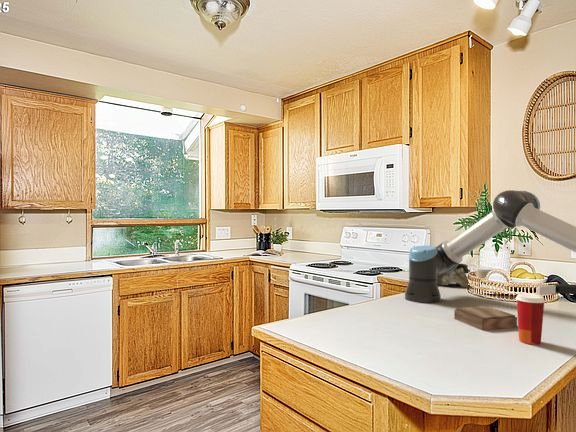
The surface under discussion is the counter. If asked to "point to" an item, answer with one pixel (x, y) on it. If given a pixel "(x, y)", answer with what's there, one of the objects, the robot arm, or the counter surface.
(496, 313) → the walnut plinth
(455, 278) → the hollow geode rock
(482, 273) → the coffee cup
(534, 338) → the paper cup
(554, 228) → the robot arm
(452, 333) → the counter surface
